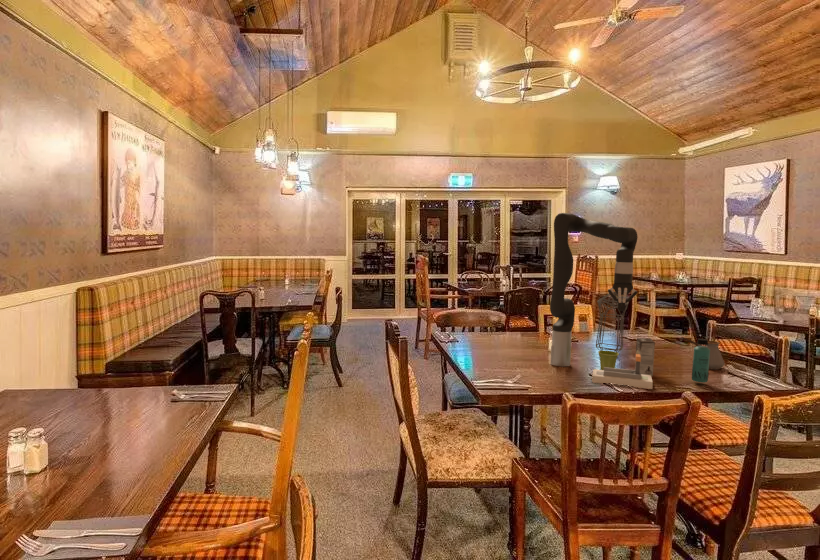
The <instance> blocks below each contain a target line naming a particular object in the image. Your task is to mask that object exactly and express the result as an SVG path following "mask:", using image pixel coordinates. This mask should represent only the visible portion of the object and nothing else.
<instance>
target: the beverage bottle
mask: <svg viewBox="0 0 820 560" xmlns="http://www.w3.org/2000/svg"><path fill="white" fill-rule="evenodd" d="M696 341H697V342H696V343H697V344H700V345H702V346H698V345H695V346H694V348H693V358H692V368H691V380H692V381H693V382H698V383H708V381H709V371H710V369H709V357H710V349H709V348H708V347H706V345H708V341H709V340H708V339H705V338H698V339H697V340H696ZM704 346H705V347H704Z"/></svg>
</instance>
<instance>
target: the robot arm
mask: <svg viewBox="0 0 820 560" xmlns="http://www.w3.org/2000/svg"><path fill="white" fill-rule="evenodd" d="M570 232H573V233H574V232H575V233H577V232H578V233H579V232H580V233H585V234H588V235H591V236H593V237H595V238H596V237H597V238H600V239H605V240H609V241H612V242H615V243H619V244H621V246H620V248H619V249H617V250H616V252H615V253H616V254H615V257H616V258H615V265H614V275H613V284H612V286H611V288H608V289H607V292H608V294H610V295H609V296H612V297H611V299H612V298H613V299H614V301H617V302H616V303H618V309H617V310H619V311H620V312H623V311H625V308H626V305H625V303H627V302H629V303H630V302H631V300H633V298H635V296H636V295H638V291H637V290H636V289H634V286H633V277H634V252H635V249H636V245H637V242H638V232H637V230H636V229H635V228H633V227H628V226H627V227H626V226H625V227H623V226H618V225H615V224H613V223H606V222H603V221H596V220H590V219H587V218H583V217H581V216H578V215H576V214H574V213H571V212H560V213H557V215H556V216H555V217H554V220H553V236H554V255H553V256H554V257H553V270H552V271H553V272H552V273H553V276H552V288H551V296H550V302H549V310H550V311H549V312H550V313H551V316H553V317H554V318H556V319H557V321H556V322H555V323H553V324H552V332H551V346H550V365H551V366H552V365H553V366H556V367H570V366H571V354H572V335H573V334H572V331H573V327H574V322H575V315H576V307H575V303H574V301H573V300H572V299H570V298H568V297H565V292H566V288H567V286H568V284H569V282H570V280H571V278H572V275H573V273H574V272H573V271H574V256H573V253H572V250H571V248H570V246H569V233H570ZM613 292H616V293H617V294H618V296H617V295H616V296H615V295H614V294H613ZM630 293H631V295H630V296H629V297H627V296H628V295H629V294H630ZM621 296H622V297H623V301H622V302H621ZM616 297H617V298H616Z"/></svg>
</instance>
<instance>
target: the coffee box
mask: <svg viewBox="0 0 820 560" xmlns="http://www.w3.org/2000/svg"><path fill="white" fill-rule="evenodd" d="M655 345H656V343H655V341H654V340H652V338H650V337H649V338H647V337H646V338H645V337H637V338H636V346H635V355H636V354H640V356H641V362H640V373H641V374H644V375H651V377H653V376H654V362H655ZM635 366H636V359H635V365H634V367H635Z"/></svg>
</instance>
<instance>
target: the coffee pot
mask: <svg viewBox="0 0 820 560" xmlns="http://www.w3.org/2000/svg"><path fill="white" fill-rule="evenodd" d="M679 340H680V342H682V341H683V340H684V341H686V342H688V343H690V344H693V345H695V346H704V347H708V348H709V349H710V357H709V370H720V369H721V368H723V367H724V366H725V365H726V363H725V361H724V358H723V356H722V354H721V350H720V348H719V345H721V342H719V341H714V340H708V345H701V344H697V342H695V341H693V340H691V339H688V338H687V337H686V338H685V337H683V336H681V337H680V338H679Z"/></svg>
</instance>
